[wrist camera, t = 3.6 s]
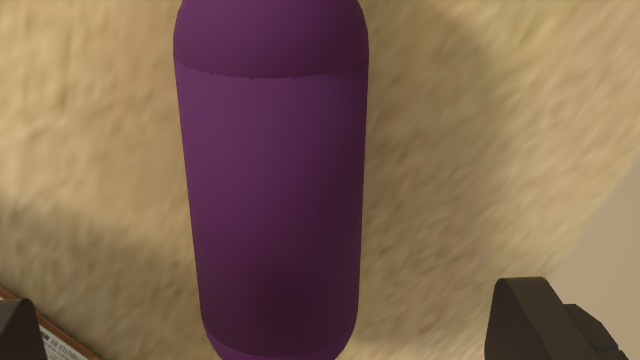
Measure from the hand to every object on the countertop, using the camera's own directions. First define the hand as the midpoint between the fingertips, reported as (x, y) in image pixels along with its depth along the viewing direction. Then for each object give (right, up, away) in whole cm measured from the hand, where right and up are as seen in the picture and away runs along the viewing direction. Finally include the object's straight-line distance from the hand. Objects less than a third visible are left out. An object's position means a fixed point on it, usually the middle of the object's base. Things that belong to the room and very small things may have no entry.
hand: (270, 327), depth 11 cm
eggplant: (0, +3, +7) cm, 8 cm away
